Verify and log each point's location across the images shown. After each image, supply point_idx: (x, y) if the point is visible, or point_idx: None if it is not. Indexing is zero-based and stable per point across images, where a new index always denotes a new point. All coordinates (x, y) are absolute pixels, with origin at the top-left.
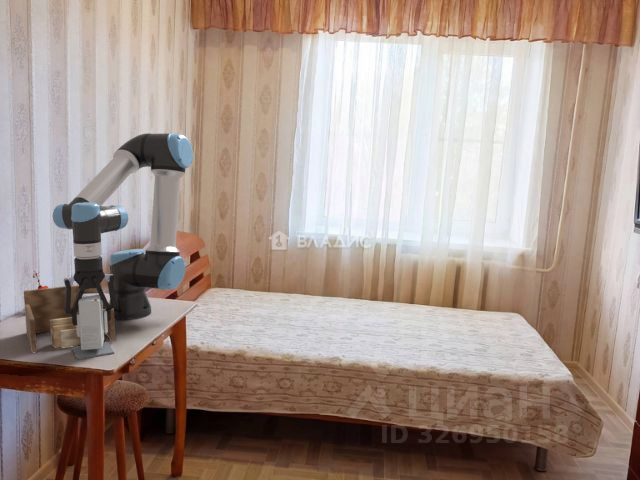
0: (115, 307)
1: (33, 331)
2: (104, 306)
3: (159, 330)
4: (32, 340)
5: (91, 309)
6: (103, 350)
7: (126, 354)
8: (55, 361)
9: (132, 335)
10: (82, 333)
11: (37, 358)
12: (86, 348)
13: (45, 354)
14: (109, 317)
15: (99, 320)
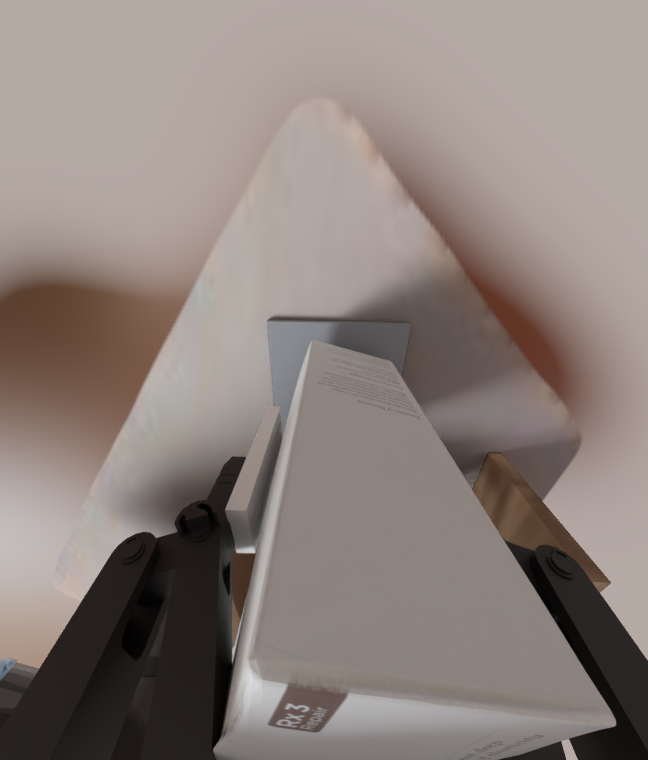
0: (139, 534)
1: (547, 520)
2: (231, 575)
3: (111, 465)
4: (526, 487)
5: (376, 517)
6: (303, 358)
7: (221, 284)
8: (482, 344)
9: (196, 460)
10: (403, 394)
11: (513, 402)
12: (372, 357)
13: (476, 425)
14: (228, 473)
15: (303, 410)
